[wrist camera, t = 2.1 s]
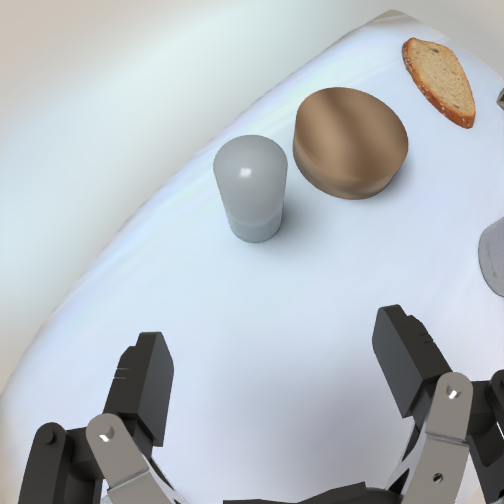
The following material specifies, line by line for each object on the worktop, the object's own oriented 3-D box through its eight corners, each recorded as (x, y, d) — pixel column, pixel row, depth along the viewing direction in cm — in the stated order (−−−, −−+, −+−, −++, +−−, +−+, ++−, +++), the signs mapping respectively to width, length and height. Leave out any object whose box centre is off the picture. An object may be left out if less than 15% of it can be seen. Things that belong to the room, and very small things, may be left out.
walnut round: (375, 115, 34) (386, 89, 29) (404, 197, 31) (423, 175, 26) (284, 117, 34) (286, 88, 29) (302, 204, 31) (308, 180, 26)
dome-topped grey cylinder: (277, 192, 31) (281, 132, 21) (284, 239, 30) (293, 192, 20) (226, 197, 31) (211, 139, 21) (230, 245, 30) (215, 200, 20)
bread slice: (464, 137, 33) (476, 123, 30) (372, 63, 37) (377, 46, 34) (491, 97, 36) (500, 85, 32) (417, 38, 40) (422, 25, 37)
